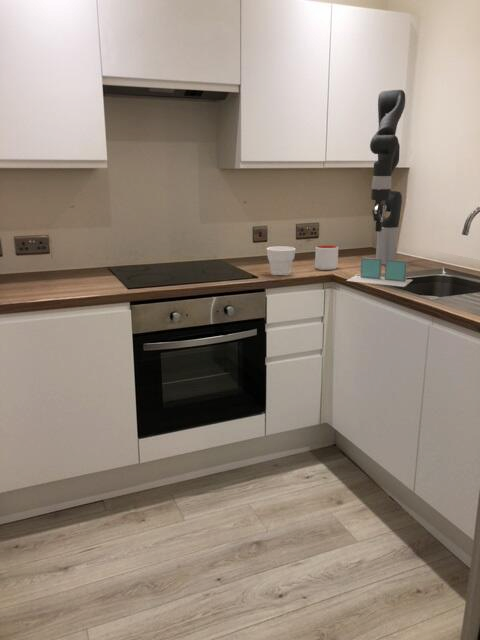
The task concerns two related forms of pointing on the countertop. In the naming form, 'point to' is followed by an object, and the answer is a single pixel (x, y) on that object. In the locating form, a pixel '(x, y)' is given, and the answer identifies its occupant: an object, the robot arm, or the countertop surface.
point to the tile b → (396, 270)
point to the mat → (379, 281)
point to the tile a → (371, 268)
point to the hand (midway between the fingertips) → (378, 231)
